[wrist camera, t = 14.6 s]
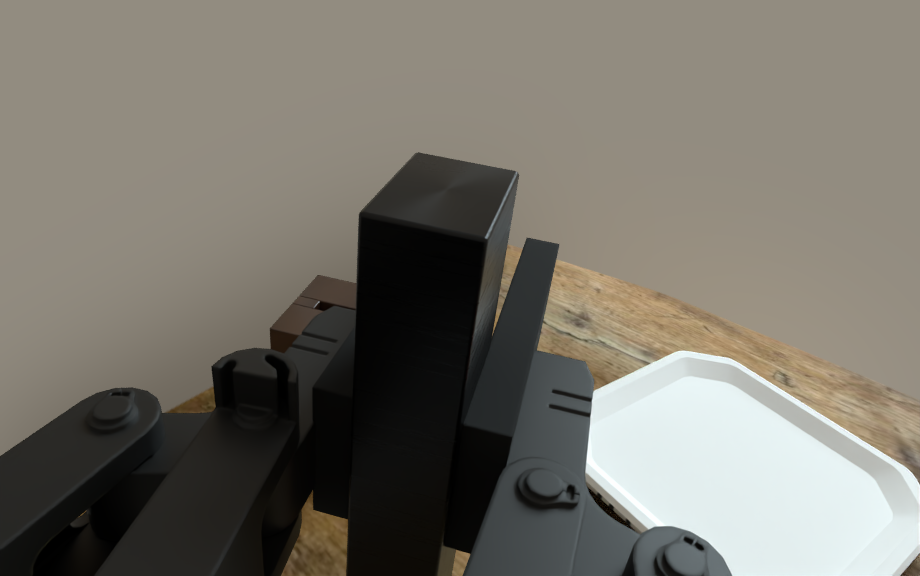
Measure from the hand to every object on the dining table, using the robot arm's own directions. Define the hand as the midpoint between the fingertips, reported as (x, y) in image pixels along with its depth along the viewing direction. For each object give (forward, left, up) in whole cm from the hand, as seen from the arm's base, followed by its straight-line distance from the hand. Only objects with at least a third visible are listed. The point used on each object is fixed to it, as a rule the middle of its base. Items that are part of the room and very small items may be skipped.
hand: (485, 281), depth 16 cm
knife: (0, -6, -15) cm, 16 cm away
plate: (+16, +22, -25) cm, 37 cm away
